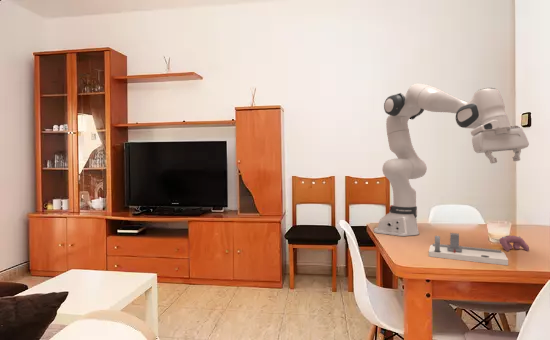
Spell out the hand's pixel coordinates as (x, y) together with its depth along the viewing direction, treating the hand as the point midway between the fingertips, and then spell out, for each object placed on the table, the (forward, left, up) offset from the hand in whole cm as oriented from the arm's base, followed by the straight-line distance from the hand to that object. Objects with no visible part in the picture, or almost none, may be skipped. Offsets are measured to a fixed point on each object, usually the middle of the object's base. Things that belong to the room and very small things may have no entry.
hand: (505, 161), depth 127 cm
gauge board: (-13, -1, -37) cm, 39 cm away
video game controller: (+5, +20, -37) cm, 43 cm away
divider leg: (-17, -2, -35) cm, 39 cm away
